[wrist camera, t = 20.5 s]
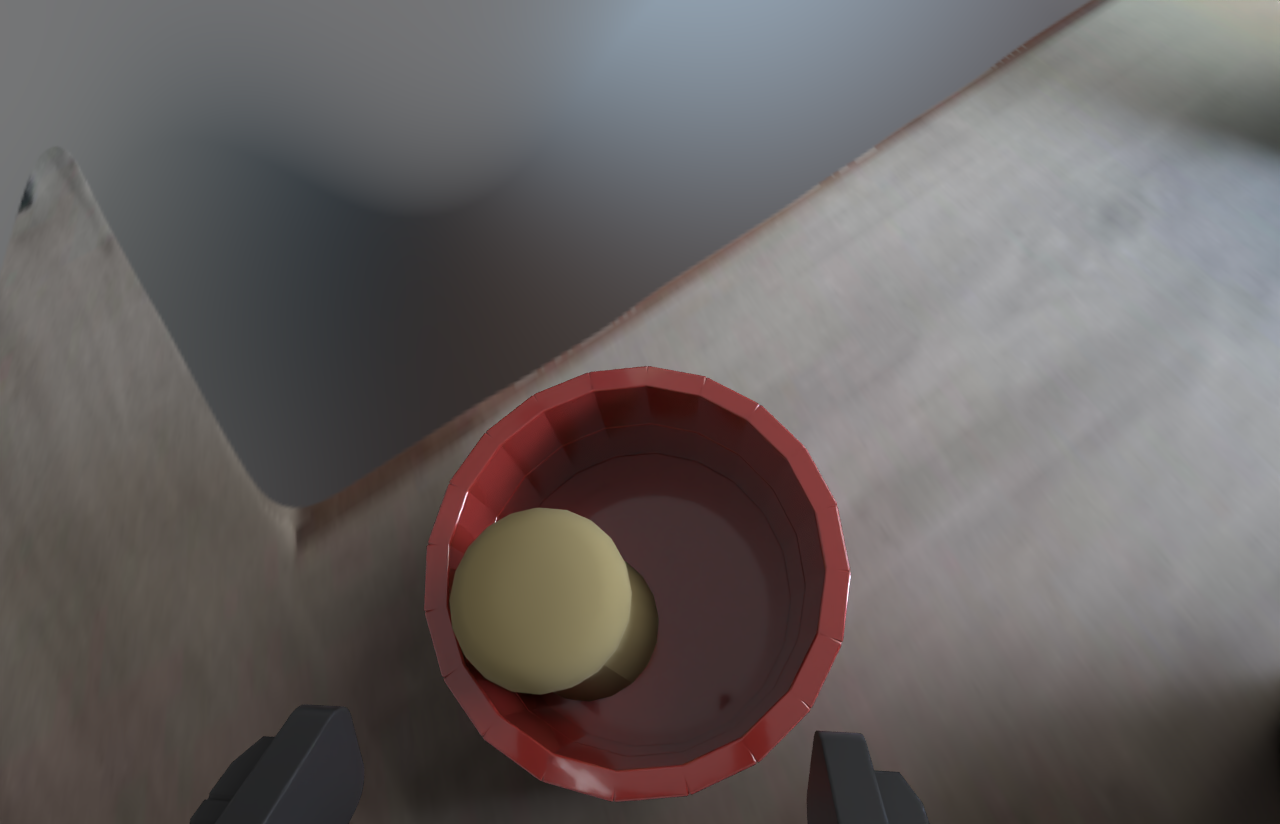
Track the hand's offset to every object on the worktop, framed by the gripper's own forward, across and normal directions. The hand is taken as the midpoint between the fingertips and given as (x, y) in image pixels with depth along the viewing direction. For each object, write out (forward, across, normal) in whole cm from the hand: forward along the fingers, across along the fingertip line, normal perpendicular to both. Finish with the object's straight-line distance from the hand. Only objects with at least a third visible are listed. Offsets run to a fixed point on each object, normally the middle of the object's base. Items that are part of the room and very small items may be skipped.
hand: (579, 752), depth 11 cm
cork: (+14, -2, -9) cm, 17 cm away
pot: (+15, 0, -8) cm, 17 cm away
